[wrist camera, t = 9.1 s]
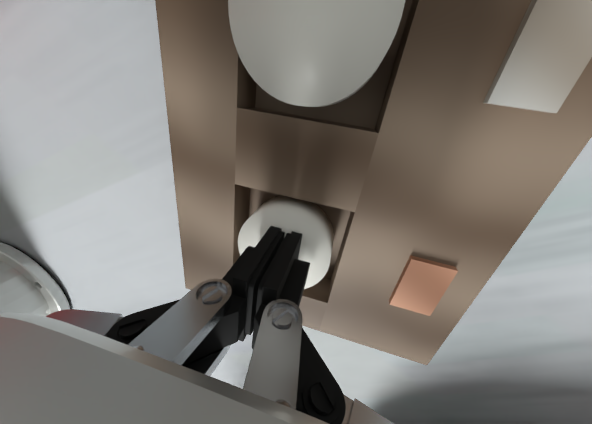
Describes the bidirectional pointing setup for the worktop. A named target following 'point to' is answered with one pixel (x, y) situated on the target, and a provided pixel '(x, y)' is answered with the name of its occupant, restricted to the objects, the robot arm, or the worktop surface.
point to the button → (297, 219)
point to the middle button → (313, 45)
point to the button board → (385, 156)
